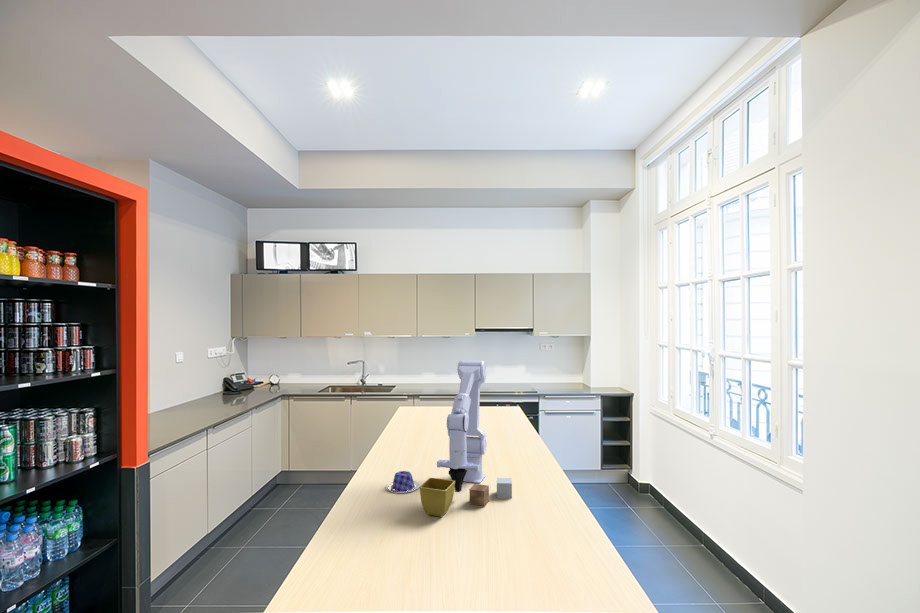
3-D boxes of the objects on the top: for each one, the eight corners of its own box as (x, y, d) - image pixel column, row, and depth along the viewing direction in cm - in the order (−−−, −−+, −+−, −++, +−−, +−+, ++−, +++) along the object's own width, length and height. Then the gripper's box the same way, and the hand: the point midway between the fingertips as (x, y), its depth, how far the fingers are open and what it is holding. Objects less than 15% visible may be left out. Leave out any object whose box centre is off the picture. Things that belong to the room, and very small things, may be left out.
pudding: (426, 487, 159) (426, 473, 159) (400, 497, 150) (400, 482, 150) (405, 479, 167) (405, 465, 167) (379, 488, 159) (379, 473, 159)
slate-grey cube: (496, 498, 149) (496, 483, 149) (496, 492, 154) (496, 477, 154) (511, 498, 148) (511, 483, 148) (511, 492, 153) (511, 478, 153)
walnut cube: (469, 505, 143) (469, 489, 143) (474, 499, 148) (474, 483, 148) (484, 507, 141) (484, 491, 142) (488, 501, 146) (488, 485, 146)
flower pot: (455, 509, 140) (455, 480, 141) (446, 521, 132) (445, 490, 132) (430, 505, 143) (430, 477, 144) (419, 517, 135) (418, 487, 135)
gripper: (433, 450, 146) (433, 492, 146) (474, 455, 141) (475, 498, 141) (441, 445, 153) (441, 484, 153) (481, 449, 148) (482, 490, 148)
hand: (458, 490), depth 147 cm, fingers closed
